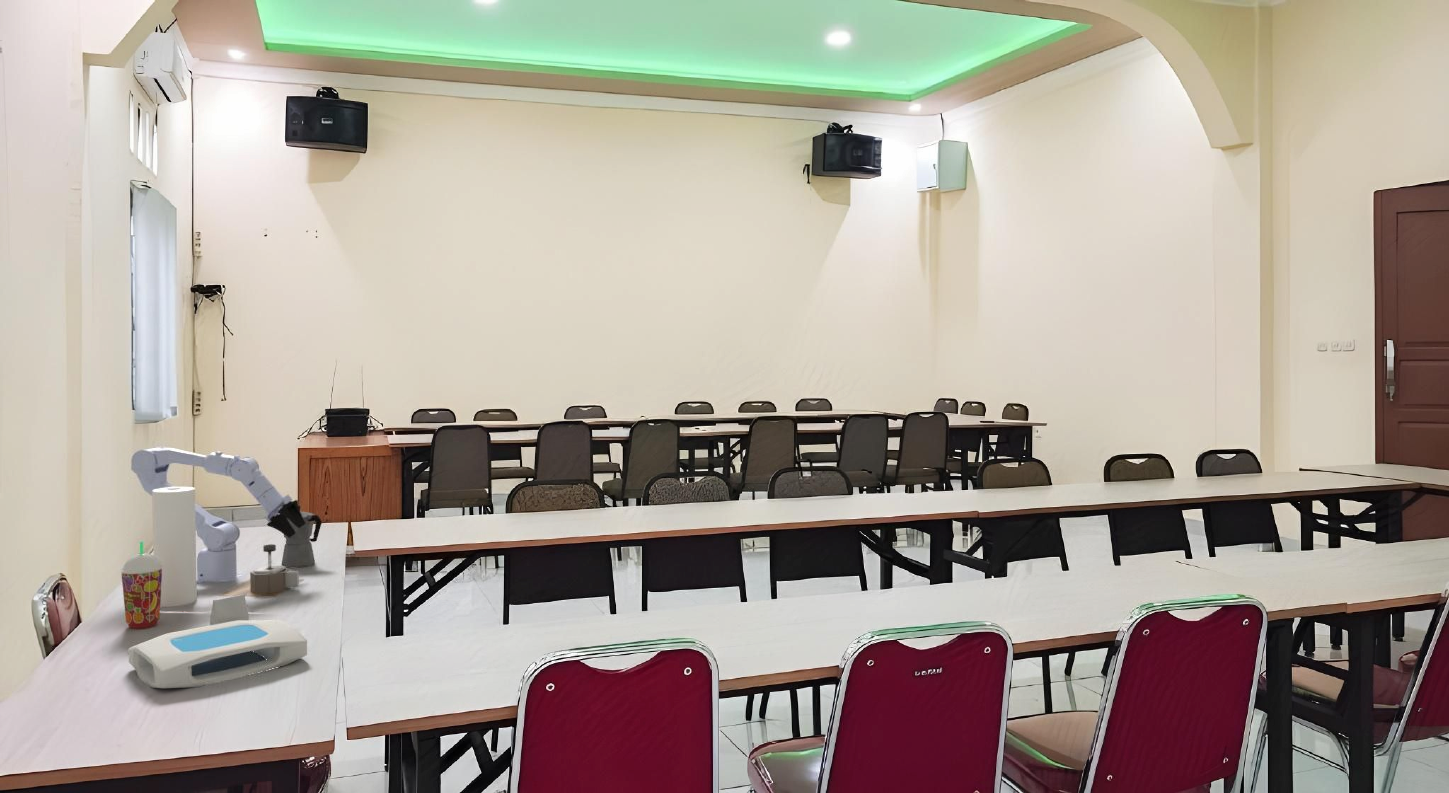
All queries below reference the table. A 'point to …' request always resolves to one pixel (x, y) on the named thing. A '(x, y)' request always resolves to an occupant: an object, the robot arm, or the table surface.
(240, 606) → the tea bag
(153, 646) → the document scanner
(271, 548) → the plunger
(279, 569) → the grey faceted block
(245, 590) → the board
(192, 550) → the cylinder container
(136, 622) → the smoothie
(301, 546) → the coffeepot
